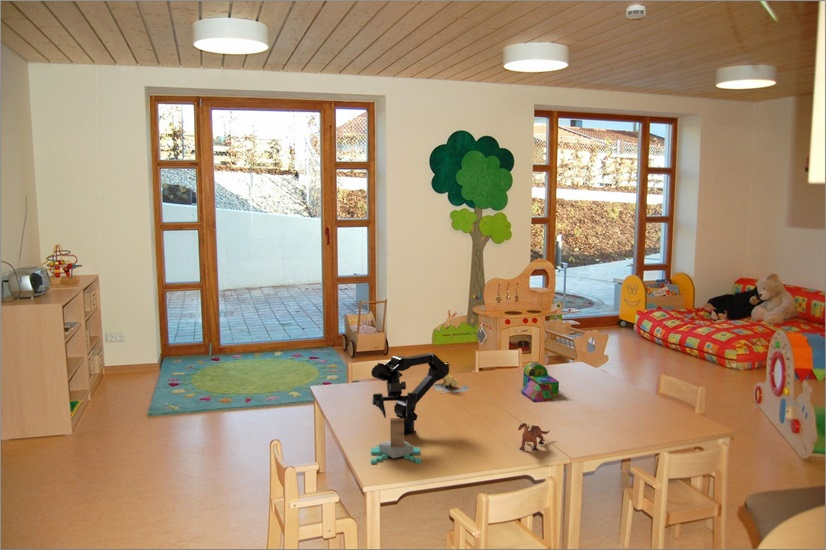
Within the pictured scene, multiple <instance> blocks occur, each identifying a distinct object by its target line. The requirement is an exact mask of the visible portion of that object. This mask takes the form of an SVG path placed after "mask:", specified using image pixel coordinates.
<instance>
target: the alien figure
mask: <svg viewBox="0 0 826 550" xmlns="http://www.w3.org/2000/svg"><path fill="white" fill-rule="evenodd" d="M412 445H413V444H412ZM413 446H414V447H413V453H410V454H407V455H404V456H401V458H402V457H403V459H404V460H409V461H410V462H415V464H422V458H421V457H418V458H417V457H416V456H415V455H421V449H420V447H419V446H418V447H417V446H416V447H415V445H413ZM370 449H371V450H370V453H371V454H370V455H372V456H375V455H376V458H370V464H371V465H372V464H373V465H374V464H376V465H377V462H383V460H388V459H389V458H391V457H390V456H388V455H387V454H385V453H383V452H381V451H379V445H376V447H370ZM377 455H378V456H377Z"/></svg>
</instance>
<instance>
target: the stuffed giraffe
mask: <svg viewBox="0 0 826 550" xmlns="http://www.w3.org/2000/svg"><path fill="white" fill-rule="evenodd" d="M444 363H445V364H447V365H448V366H449V367H450V361H448V360H445V362H444ZM442 380H443V381H442V383H440V382H439V383H434V384H433V386H432V388H433V389H434V390H435V391H437V392H439V391H440V393H439V394H445V393H446V392H450V393H462V392H466V391H470V388H468V387H467V386H466V385H465V384H463V385H462V386H460V387H459V388H457V389H455V388H456V387H457V386H459V383H458V381H457V379H456V378H455V377H453V376H452V375H450V374H448V375H447V376H445V377H444V378H443V379H442ZM441 391H442V392H441Z"/></svg>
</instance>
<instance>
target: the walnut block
mask: <svg viewBox="0 0 826 550" xmlns="http://www.w3.org/2000/svg"><path fill="white" fill-rule="evenodd" d="M389 428H390V430H389V431H390V432H389V433H390V440H391V447H404V441H405V435H404V418H399V417H391V418H390V427H389Z"/></svg>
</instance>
